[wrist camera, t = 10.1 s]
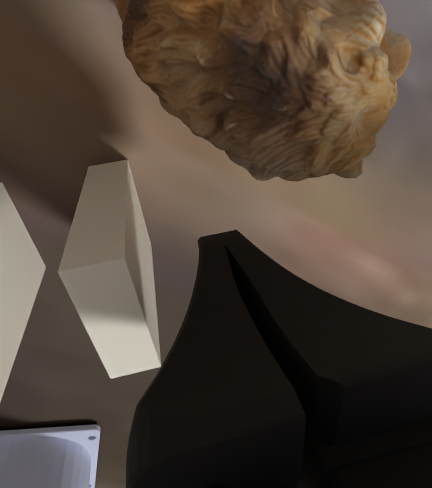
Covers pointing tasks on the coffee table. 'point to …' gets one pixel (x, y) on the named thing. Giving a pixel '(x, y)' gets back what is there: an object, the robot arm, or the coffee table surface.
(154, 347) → the tile
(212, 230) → the coffee table surface
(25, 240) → the tile
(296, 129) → the lion figurine
